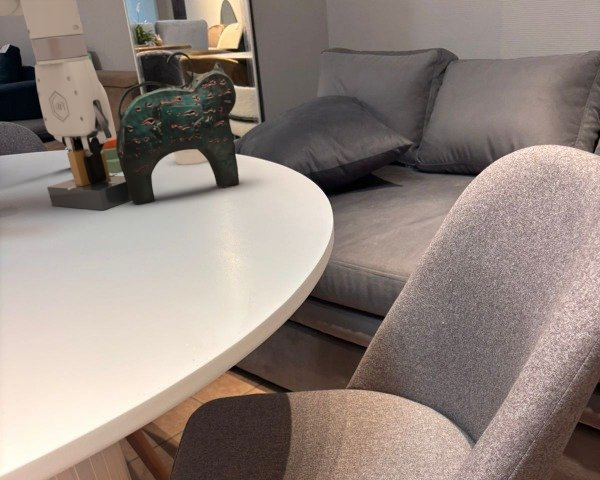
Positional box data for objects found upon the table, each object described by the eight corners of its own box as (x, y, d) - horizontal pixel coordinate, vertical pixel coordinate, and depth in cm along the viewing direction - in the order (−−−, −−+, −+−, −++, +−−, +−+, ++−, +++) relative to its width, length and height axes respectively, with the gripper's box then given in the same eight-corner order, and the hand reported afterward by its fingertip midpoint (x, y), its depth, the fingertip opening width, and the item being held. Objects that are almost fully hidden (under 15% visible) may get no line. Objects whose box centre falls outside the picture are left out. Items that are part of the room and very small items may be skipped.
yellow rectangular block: (82, 186, 100) (73, 151, 98) (75, 185, 101) (66, 151, 98) (110, 177, 105) (102, 143, 102) (103, 177, 105) (95, 143, 103)
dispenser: (82, 171, 128) (76, 150, 125) (111, 162, 133) (106, 142, 131) (117, 173, 123) (112, 151, 121) (146, 164, 128) (142, 143, 126)
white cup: (169, 161, 129) (159, 107, 124) (206, 155, 131) (198, 102, 126) (178, 167, 122) (168, 111, 117) (217, 161, 125) (209, 105, 120)
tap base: (49, 206, 104) (43, 186, 102) (96, 191, 111) (91, 172, 109) (100, 211, 98) (94, 190, 96) (146, 194, 105) (142, 175, 103)
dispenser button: (96, 150, 126) (94, 141, 125) (110, 147, 128) (108, 137, 127) (109, 151, 124) (107, 141, 123) (122, 147, 126) (120, 137, 126)
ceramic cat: (239, 178, 110) (221, 46, 99) (253, 184, 105) (237, 46, 94) (125, 200, 103) (93, 60, 92) (134, 208, 98) (102, 61, 87)
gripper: (5, 56, 94) (42, 184, 104) (77, 50, 87) (110, 189, 96) (46, 51, 100) (78, 173, 109) (117, 45, 92) (144, 177, 101)
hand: (92, 179), depth 103 cm, fingers closed, pressing on yellow rectangular block
